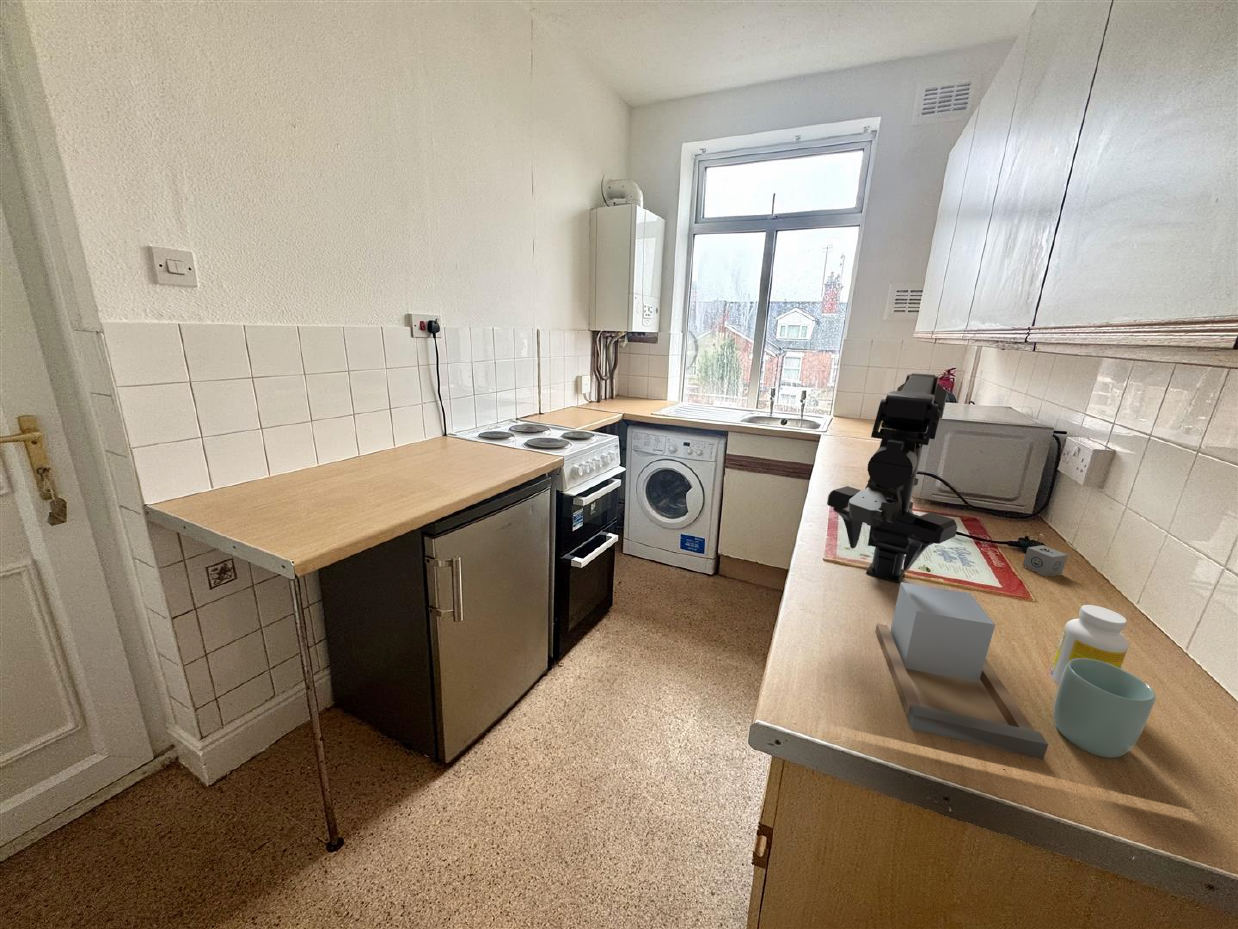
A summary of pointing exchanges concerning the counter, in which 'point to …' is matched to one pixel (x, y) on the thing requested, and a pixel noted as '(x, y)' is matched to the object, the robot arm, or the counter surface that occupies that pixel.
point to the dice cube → (1045, 560)
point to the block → (941, 631)
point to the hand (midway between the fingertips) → (878, 558)
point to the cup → (1101, 707)
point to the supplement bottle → (1091, 639)
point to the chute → (961, 706)
